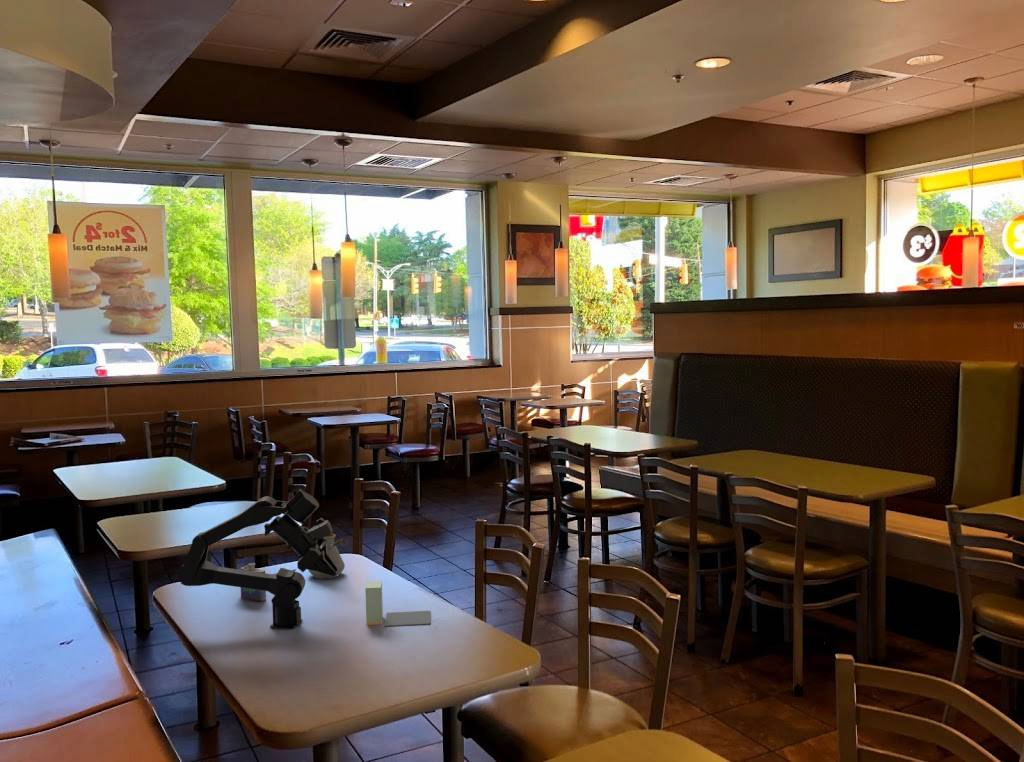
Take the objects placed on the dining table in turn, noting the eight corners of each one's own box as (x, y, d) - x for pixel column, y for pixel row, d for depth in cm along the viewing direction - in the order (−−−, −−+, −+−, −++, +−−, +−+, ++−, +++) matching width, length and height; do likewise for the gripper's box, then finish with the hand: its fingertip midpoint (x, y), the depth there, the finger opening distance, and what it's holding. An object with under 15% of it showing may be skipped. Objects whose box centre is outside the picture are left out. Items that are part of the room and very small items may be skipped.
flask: (268, 600, 250) (266, 563, 249) (260, 603, 247) (259, 566, 246) (245, 595, 254) (243, 560, 254) (237, 598, 252) (236, 562, 251)
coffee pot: (302, 574, 275) (301, 528, 274) (336, 568, 281) (335, 523, 280) (327, 591, 257) (326, 542, 256) (363, 584, 263) (362, 536, 262)
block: (366, 625, 228) (365, 588, 227) (368, 617, 234) (367, 581, 233) (381, 624, 228) (380, 587, 228) (382, 616, 234) (381, 580, 234)
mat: (384, 626, 227) (384, 625, 226) (386, 613, 236) (386, 612, 236) (430, 624, 228) (430, 623, 228) (430, 611, 238) (430, 610, 238)
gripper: (308, 520, 218) (354, 560, 220) (318, 504, 237) (359, 542, 239) (278, 551, 218) (323, 592, 220) (290, 533, 237) (331, 571, 238)
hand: (336, 572), depth 229 cm, fingers open, 3 cm apart
